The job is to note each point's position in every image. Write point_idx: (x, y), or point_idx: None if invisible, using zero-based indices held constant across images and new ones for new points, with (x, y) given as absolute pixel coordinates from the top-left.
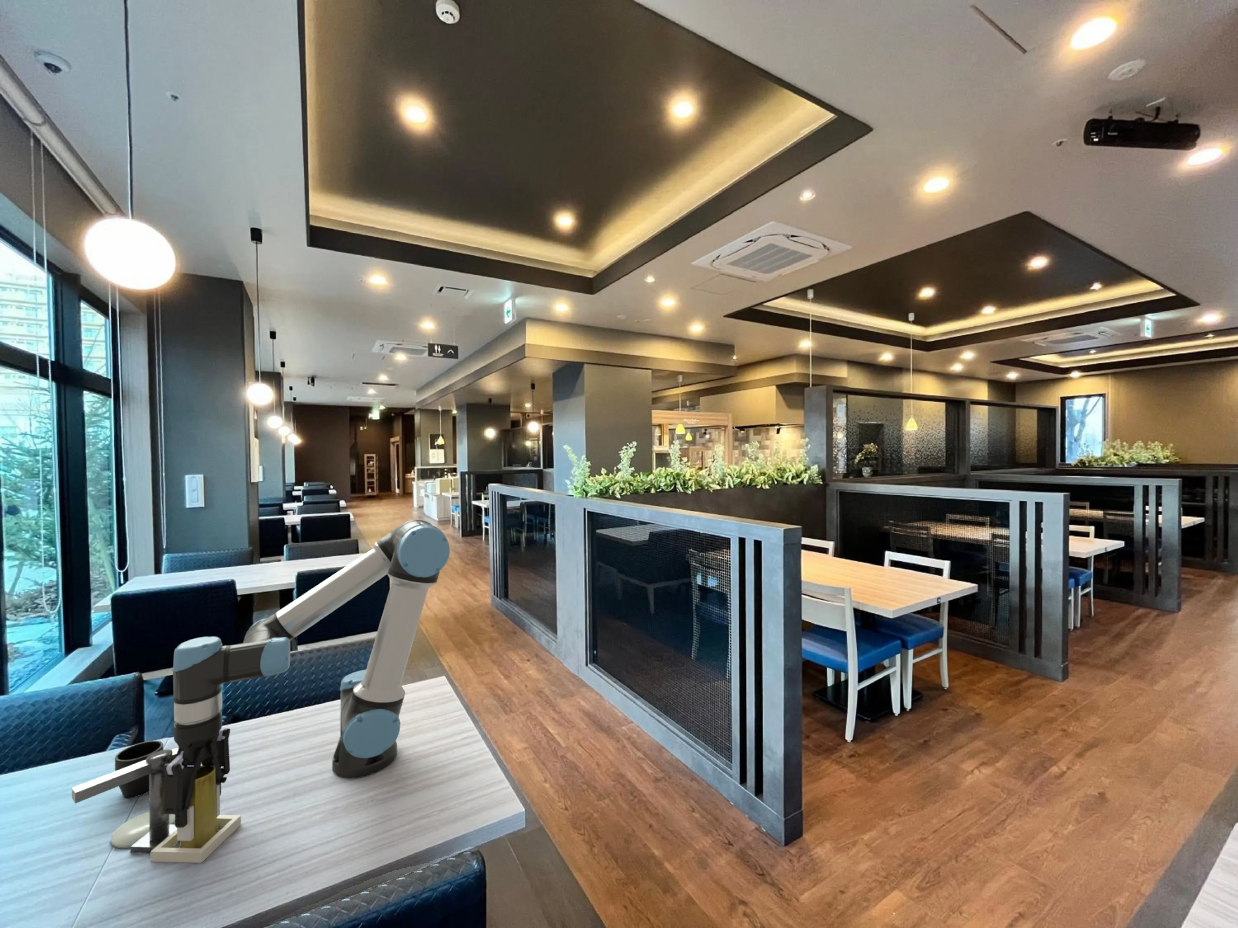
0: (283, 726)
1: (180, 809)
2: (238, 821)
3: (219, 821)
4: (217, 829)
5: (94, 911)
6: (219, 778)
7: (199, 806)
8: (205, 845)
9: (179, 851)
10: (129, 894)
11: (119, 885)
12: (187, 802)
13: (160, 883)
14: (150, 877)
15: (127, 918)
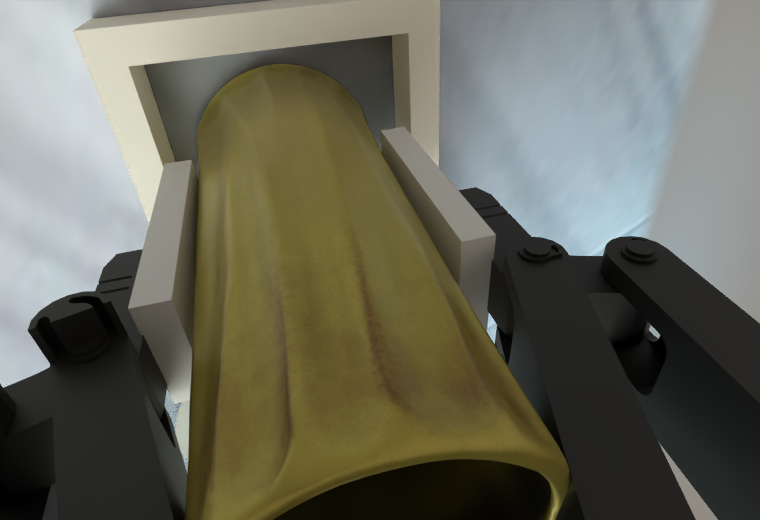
0: None
1: (636, 250)
2: (106, 23)
3: (163, 154)
4: (227, 96)
5: (632, 193)
6: (110, 363)
7: (406, 213)
8: (382, 23)
9: (434, 137)
10: (578, 151)
11: (531, 230)
12: (557, 279)
13: (538, 77)
14: (502, 156)
15: (699, 33)
